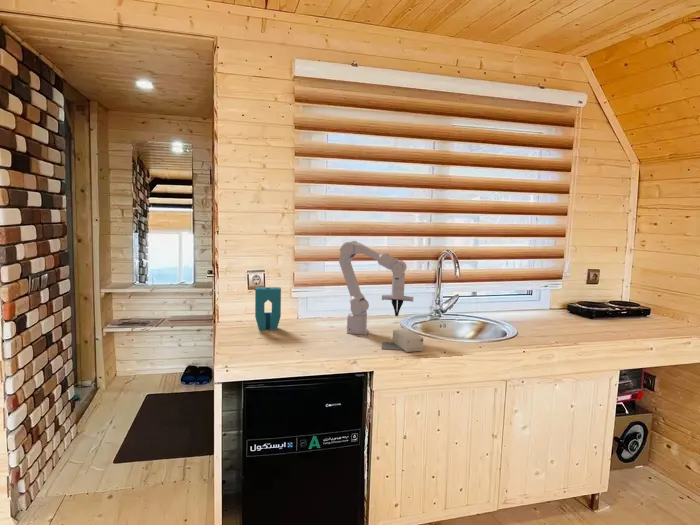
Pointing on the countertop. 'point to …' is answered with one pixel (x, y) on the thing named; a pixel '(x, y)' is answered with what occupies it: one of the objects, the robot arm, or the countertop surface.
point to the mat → (391, 346)
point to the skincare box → (408, 340)
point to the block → (261, 297)
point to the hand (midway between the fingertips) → (396, 315)
